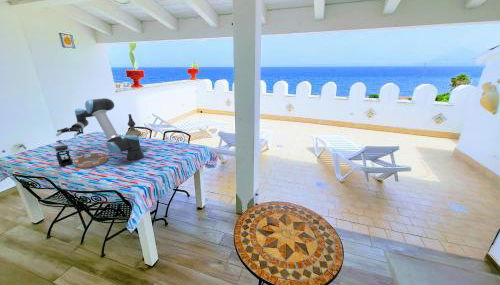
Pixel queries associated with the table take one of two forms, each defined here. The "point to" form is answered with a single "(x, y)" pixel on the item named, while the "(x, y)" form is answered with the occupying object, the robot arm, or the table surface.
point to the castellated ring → (90, 160)
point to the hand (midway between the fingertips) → (65, 135)
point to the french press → (66, 159)
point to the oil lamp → (132, 128)
